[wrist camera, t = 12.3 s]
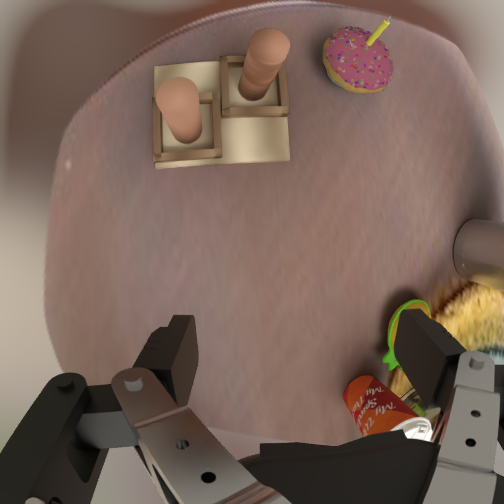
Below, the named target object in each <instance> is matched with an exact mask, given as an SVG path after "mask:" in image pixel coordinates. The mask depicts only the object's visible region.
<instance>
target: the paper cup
mask: <svg viewBox="0 0 504 504" xmlns="http://www.w3.org/2000/svg"><path fill="white" fill-rule="evenodd" d="M344 401H345V403H346V405H347V407H348V409H349V411H350V413H351V415H352V416H353V418H354V420H355V422H356V424H357V425H358V427H359V429H360V431H361V433H362V434H363V436H364V437H365V436H368V435H371V434H377V433H383V432H389V431H394V430H399V429H403V431H404V433H405V435H406V437H407V438H413V439H421V440H426V441H430V438H431V435H432V432H433V431H432V429H431V424H430V421H429V420H428V419H426V418H424V417H420V416H419V415H418V414H417V413H416V412H414V411H413V410H412V409H411V408H410V407H409V406H408V405H407V404H406V403H405V402H403V401H402V400H401V399H400V398H399V397H398V396H397V395H395V394H394V393H393V392H392V391H391V390H389V389H388V388H387V387H386V386H385V385H383V384H382V383H381V382H380V381H379V380H378V379H376V378H375V377H373V376H371V375H363V376H360V377H358V378H356V379H354V380H353V381H352V382H351V383H350V384H349V385H348V386H347V388H346V390H345V392H344Z"/></svg>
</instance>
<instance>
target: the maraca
mask: <svg viewBox="0 0 504 504" xmlns="http://www.w3.org/2000/svg"><path fill="white" fill-rule="evenodd" d="M415 308H420V309H421V310H422V311H423V312H424V313H425V314H426V315H427V316H428V317H429V318H430V319H431V314H430V309H429V306H428V305H427V303H426V302H424V301H422V300H418V299H413V300H410V301H408V302H406V303H404V304H403V305H401V306H400V307H399V308H398V309H397V310H396V311H395V313H394V314H393V316H392V318H391V320H390V322H389V326H388V346H389V351H388V352H387V353H386V354H385V355H384V357H383V359H382V361H383V362H384V363H388V367H387V368H388V370H389V371H391V370H393V369H394V368H395V366H397V365H399V363H398V362H397V360H396V358H395V355H394V341H395V336H396V331H397V326H398V321H399V315H400V312H401V311H402V310H403V309H415ZM399 368H400V369H401V370H402V368H401V366H400V365H399Z"/></svg>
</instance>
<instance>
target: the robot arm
mask: <svg viewBox="0 0 504 504" xmlns="http://www.w3.org/2000/svg"><path fill="white" fill-rule="evenodd" d="M454 263H455V267H456V270H457V271H458V273H459V275H460V276H462V277H463V278H465V279H467V280H470V281H473V282H476V283H479V284H482V285H484V286H487V287H490V288H493V289H496V290H499V291H502V292H504V222H498V221H490V220H480V219H472V220H469V221H467V222H466V223H465V224H464V225H463V226H462V227H461V229H460V230H459V232H458V234H457V237H456V240H455V244H454ZM394 355H395V358H396V360H397V362H398V363H399V365H400V366H401V368H402V370H403V371H404V373H405V374H406V376H407V378H408V379H409V381H410V382H411V384H412V386H413V387H414V389H415V391H416V392H417V394H418V396H419V397H420V399H421V401H422V402H423V404H424V406H425V407H426V409H427V410H430V409H434V408H438V407H440V409H441V410H440V412H439V414H438V417H437V420H436V423H435V426H434V429H433V432H432V435H431V438H430V441H426V440H421V439H413V438H407V437H406V435H405V433H404V431H403V429H399V430H394V431H389V432H383V433H377V434H371V435H368V436H365V437H363V438H360V439H357V440H354V441H351V442H348V443H345V444H342V445H339V446H328V445H317V444H308V443H300V442H292V443H262V444H260V454H256V455H252V456H249V457H245V458H242V459H240V460H236V459H235V458H234V457H233V455H232V454H231V453H229V451H228V450H227V449H226V448H225V447H224V446H223V445H222V444H221V443H220V442H219V441H218V440H217V438H216V437H215V436H214V435H213V434H212V433H211V432H210V431H209V430H208V428H207V427H206V426H205V425H204V424H203V423H202V422H201V420H200V419H199V418H198V417H197V416H196V415H195V413H194V412H193V411H192V410H191V409H190V408H189V407H188V406H187V404H188V400H189V396H190V393H191V389H192V385H193V381H194V378H195V374H196V370H197V366H198V344H197V335H196V325H195V318H194V316H193V315H173V317H172V319H171V321H170V323H169V325H168V327H160V328H158V329H157V330H155V331H154V332H153V333H151V335H150V337H149V338H148V340H147V343H146V344H145V345H144V349H142V351H141V353H140V354H139V356H138V358H137V360H136V362H135V363H134V365H133V367H132V368H128V369H124V370H122V371H120V372H118V373H117V374H116V375H114V377H113V378H112V380H111V384H106V385H95V386H87V383H86V380H85V378H84V377H83V376H82V375H80V374H77V373H63V374H60V375H57V376H55V377H53V378H52V379H51V380H50V381H49V382H48V383H47V384H46V386H45V387H44V389H43V390H42V391H41V393H40V394H39V396H38V397H37V398H36V400H35V401H34V403H33V404H32V406H31V407H30V409H29V410H28V411H27V413H26V414H25V416H24V417H23V419H22V420H21V422H20V423H19V425H18V427H17V428H16V429H15V431H14V433H13V434H12V436H11V437H10V439H9V440H8V442H7V443H6V445H5V447H4V448H3V450H2V452H1V453H0V504H90V502H91V500H92V497H93V493H94V491H95V488H96V485H97V482H98V479H99V476H100V473H101V470H102V467H103V465H104V462H105V459H106V456H107V453H108V450H109V448H118V447H129V446H133V448H134V450H135V451H136V453H137V455H138V457H139V459H140V460H141V462H142V464H143V466H144V467H145V469H146V471H147V473H148V474H149V476H150V478H151V479H152V481H153V482H154V484H155V486H156V488H157V489H158V491H159V493H160V495H161V496H162V498H163V500H164V502H165V503H166V504H504V477H503V476H501V475H499V474H497V473H495V472H494V470H493V468H494V461H495V454H496V446H497V440H498V442H499V443H500V445H501V447H502V449H503V450H504V365H495V364H494V361H493V360H492V358H491V357H489V356H488V355H487V354H484V353H482V352H479V351H467V350H466V349H465V348H464V347H463V346H462V345H461V344H460V343H459V342H458V341H457V340H456V339H455V338H454V337H452V335H451V334H450V333H449V332H447V330H446V329H445V328H444V327H443V326H442V325H441V324H440V323H438V322H436V321H434V320H432V319H430V318H429V317H428V316H427V315H426V314H425V313H424V312H423V311H422V310H421V309H420V308H415V309H403V310H402V311H401V312H400V315H399V321H398V326H397V331H396V336H395V341H394Z"/></svg>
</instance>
